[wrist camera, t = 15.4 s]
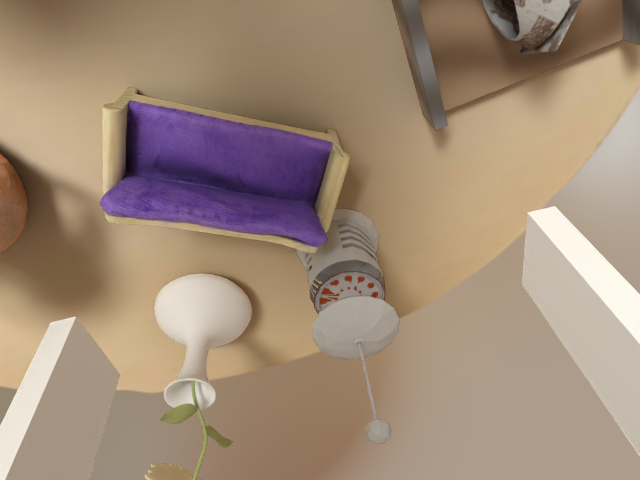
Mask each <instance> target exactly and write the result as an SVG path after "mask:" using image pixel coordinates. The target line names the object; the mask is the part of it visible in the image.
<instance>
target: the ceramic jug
mask: <svg viewBox="0 0 640 480" xmlns="http://www.w3.org/2000/svg"><path fill="white" fill-rule="evenodd" d="M27 216H28V201H27V196H26V192H25V189H24V187H23V184H22V182H21V180H20V178H19V176H18V175H17V173H16V171H15V170H14V168H13V167H12V165H11V164H10V162H9V161H8V160H7V159H6V158H4V157H3V156H2V155H1V154H0V253H1V252H3V251H5V250H6V249H8V248H9V247H10V246H11V245H12V244H13V243H14V242H15V241H16V240H17V239H18V238H19V236H20V235H21V233H22V231H23V229H24V227H25V224H26V221H27Z"/></svg>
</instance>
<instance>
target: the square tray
mask: <svg viewBox="0 0 640 480" xmlns="http://www.w3.org/2000/svg"><path fill="white" fill-rule="evenodd" d="M392 2H393V6H394V10H395V13H396V17H397V21H398V25H399V28H400V32H401V36H402V39H403V43H404V47H405V50H406V54H407V58H408V61H409V65H410V69H411V72H412V76H413V80H414V83H415V87H416V91H417V94H418V98H419V102H420V106H421V109H422V113H423V115H424V117H425V118H426V119H427V120H428V122H429V123H430V124H431V125H432V126H433V128H434V129H435V130H437V129H440V128H442V127H445V126H447V125H448V123H447V118H446V114H445V111H447V110H450V109H452V108H455V107H457V106H460V105H462V104H465V103H467V102H470V101H472V100H474V99H477V98H479V97H482V96H484V95H487V94H489V93H492V92H494V91H497V90H499V89H502V88H504V87H507V86H509V85H512V84H514V83H516V82H519V81H521V80H524V79H526V78H529V77H531V76H534V75H536V74H539V73H541V72H544V71H546V70H549V69H551V68H554V67H556V66H559V65H561V64H563V63H566V62H568V61H571V60H573V59H576V58H578V57H581V56H583V55H586V54H588V53H591V52H593V51H596V50H598V49H601V48H603V47H605V46H608V45H610V44H613V43H615V42H618V41H620V40H625V41H628V42H631V43H635V44H638V45H640V0H583V1H582V3H581V5H580V7H579V9H578V11H577V12H576V14H575V16H574V18H573V20H572V22H571V24H570V26H569V28H568V30H567V32H566V34H565V36H564V38H563V40H562V42H561V44H560V46H559V48H558V49H557V50H556V51H549V52H539V53H528V54H520V50H521V48H522V46H521V45H519V44H516V43H514V42H512V41H510V40H508V39H506V38H505V37H504V36H503V35H502V34H501V32H500V31H499V30H498V29H497V28H496V26H495V25H494V24H493V22H492V21H491V19H490V18H489V16H488V14H487V12H486V10H485V8H484V6H483V3H482V0H392Z"/></svg>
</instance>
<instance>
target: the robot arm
mask: <svg viewBox="0 0 640 480" xmlns="http://www.w3.org/2000/svg"><path fill="white" fill-rule="evenodd" d="M522 285H523V286H524V288H525V289H526V291H527V292H528V294H529V295H530V297H531V298H532V299H533V301H534V302H535V304H536V305H537V307H538V308H539V310H540V311H541V312H542V314H543V316H544V317H545V319H546V320H547V322H548V323H549V324H550V326H551V327H552V329H553V330H554V332H555V333H556V335H557V336H558V338H559V339H560V341H561V342H562V344H563V345H564V346H565V348H566V349H567V351H568V352H569V354H570V355H571V357H572V358H573V360H574V361H575V363H576V364H577V366H578V367H579V368H580V370H581V371H582V373H583V374H584V376H585V377H586V379H587V380H588V382H589V383H590V385H591V386H592V388H593V389H594V390H595V392H596V393H597V395H598V396H599V398H600V399H601V401H602V402H603V404H604V405H605V406H606V408H607V409H608V411H609V412H610V414H611V415H612V417H613V418H614V420H615V421H616V423H617V424H618V426H619V427H620V428H621V430H622V431H623V433H624V434H625V436H626V437H627V439H628V440H629V442H630V443H631V445H632V446H633V448H634V449H635V450H636V452H637V454H638V455H639V456H640V295H639V293H638V292H637V291H635V289H634V288H633V287H632V286H631V285H630V284H629V283H628V282H627V281H626V280H625V279H624V278H623V277H622V276H621V275H620V274H619V273H618V272H617V270H615V268H613V266H612V265H611V264H610V263H609V262H608V261H607V260H606V259H605V258H604V257H603V256H602V255H601V254H600V253H599V252H598V251H597V250H596V249H595V248H594V247H593V246H592V244H591V243H590V242H589V241H588V240H587V239H586V238H585V237H584V236H583V235H582V234H581V233H580V232H579V231H578V230H577V229H576V228H575V227H574V226H573V225H572V224H571V223H570V222H569V220H568V219H567V218H566V217H565V216H564V215H563V214H562V213H561V212H560V211H559V210H558V209H557V208H556V207H555V206H554V207H550V208H545V209H541V210H537V211H532V212H528V213H527V225H526V241H525V253H524V265H523V279H522ZM119 376H120V374H119V372H118V371H117V370H116V368H115V367H114V366H113V364H112V363H111V362H110V360H109V359H108V358H107V356H106V355H105V354H104V352H103V351H102V350H101V348H100V347H99V346H98V345H97V343H96V342H95V341H94V339H93V338H92V337H91V335H90V334H89V333H88V331H87V330H86V329H85V327H84V326H83V325H82V323H81V322H80V321H79V319H78V318H77V317H72V318H67V319H63V320H59V321H54V322H51V323H50V325H49V327H48V329H47V331H46V333H45V335H44V337H43V339H42V342H41V344H40V346H39V348H38V350H37V352H36V354H35V356H34V358H33V360H32V362H31V364H30V366H29V368H28V370H27V372H26V374H25V376H24V378H23V380H22V382H21V384H20V387H19V389H18V391H17V393H16V395H15V397H14V399H13V401H12V403H11V405H10V407H9V409H8V411H7V413H6V415H5V417H4V419H3V421H2V424H1V425H0V480H90V476H91V473H92V469H93V466H94V463H95V459H96V456H97V452H98V449H99V445H100V442H101V438H102V435H103V431H104V428H105V425H106V421H107V417H108V414H109V411H110V407H111V404H112V401H113V397H114V394H115V390H116V387H117V383H118V380H119Z"/></svg>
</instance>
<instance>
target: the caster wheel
mask: <svg viewBox="0 0 640 480" xmlns="http://www.w3.org/2000/svg"><path fill="white" fill-rule="evenodd" d="M582 1H583V0H482V3H483V6H484V8H485V10H486V12H487V14H488V16H489V18H490V19H491V21H492V22H493V24H494V25H495V26H496V28H497V29H498V30H499V31H500V32H501V34H502V35H503V36H504V37H505V38H506V39H508V40H510V41H512V42H514V43H516V44H519V45H521V46H522V48H521V50H520V54H528V53H539V52H549V51H556V50H557V49H558V48H559V46H560V44H561V42H562V40H563V38H564V36H565V34H566V32H567V30H568V28H569V26H570V24H571V22H572V20H573V18H574V16H575V14H576V12H577V11H578V9H579V7H580V5H581V3H582Z"/></svg>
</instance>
